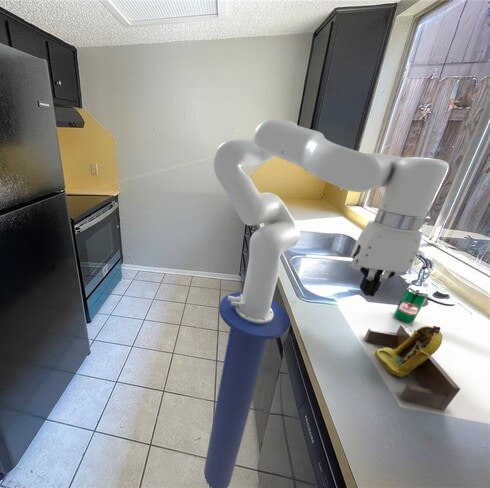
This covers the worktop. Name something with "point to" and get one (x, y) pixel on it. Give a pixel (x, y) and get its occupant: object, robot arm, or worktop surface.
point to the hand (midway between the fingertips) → (366, 292)
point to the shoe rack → (420, 373)
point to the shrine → (410, 351)
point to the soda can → (410, 304)
